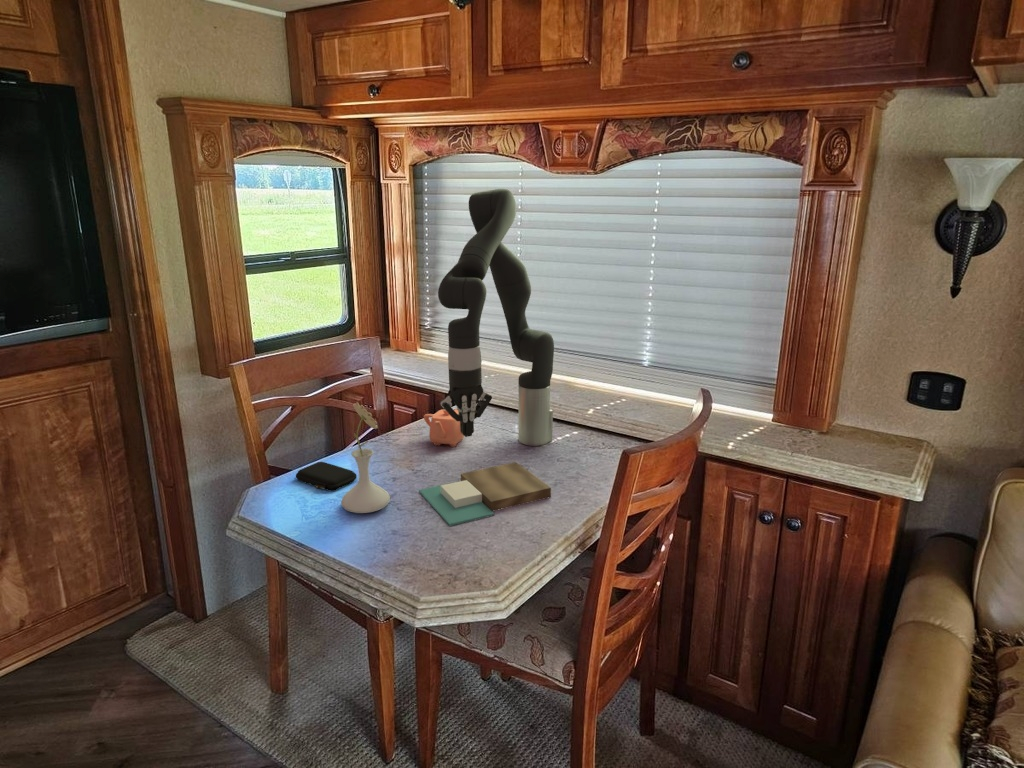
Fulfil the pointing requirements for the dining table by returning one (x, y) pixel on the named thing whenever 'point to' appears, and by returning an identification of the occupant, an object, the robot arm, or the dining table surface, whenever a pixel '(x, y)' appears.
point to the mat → (452, 513)
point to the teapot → (444, 428)
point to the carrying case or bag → (326, 476)
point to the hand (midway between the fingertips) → (467, 435)
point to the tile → (461, 493)
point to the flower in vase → (364, 477)
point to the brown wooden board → (507, 485)
